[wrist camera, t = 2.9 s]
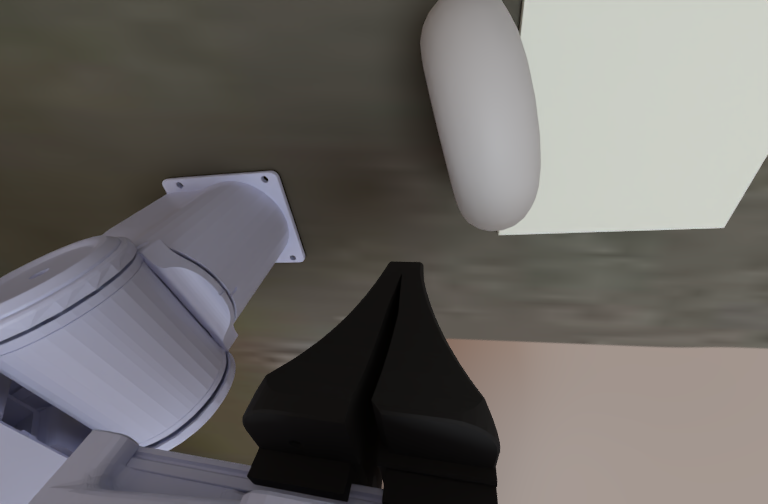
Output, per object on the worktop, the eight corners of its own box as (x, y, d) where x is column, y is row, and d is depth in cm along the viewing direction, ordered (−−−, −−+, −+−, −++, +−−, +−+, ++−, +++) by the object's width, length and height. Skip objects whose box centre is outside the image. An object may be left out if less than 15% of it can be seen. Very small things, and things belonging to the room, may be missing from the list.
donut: (508, 173, 20) (560, 268, 12) (456, 187, 21) (471, 283, 13) (482, -16, 15) (541, -70, 7) (414, 15, 16) (396, -1, 8)
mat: (497, 232, 23) (498, 235, 22) (538, -145, 12) (540, -149, 12) (719, 224, 20) (723, 227, 20) (995, -251, 10) (1014, -260, 10)
